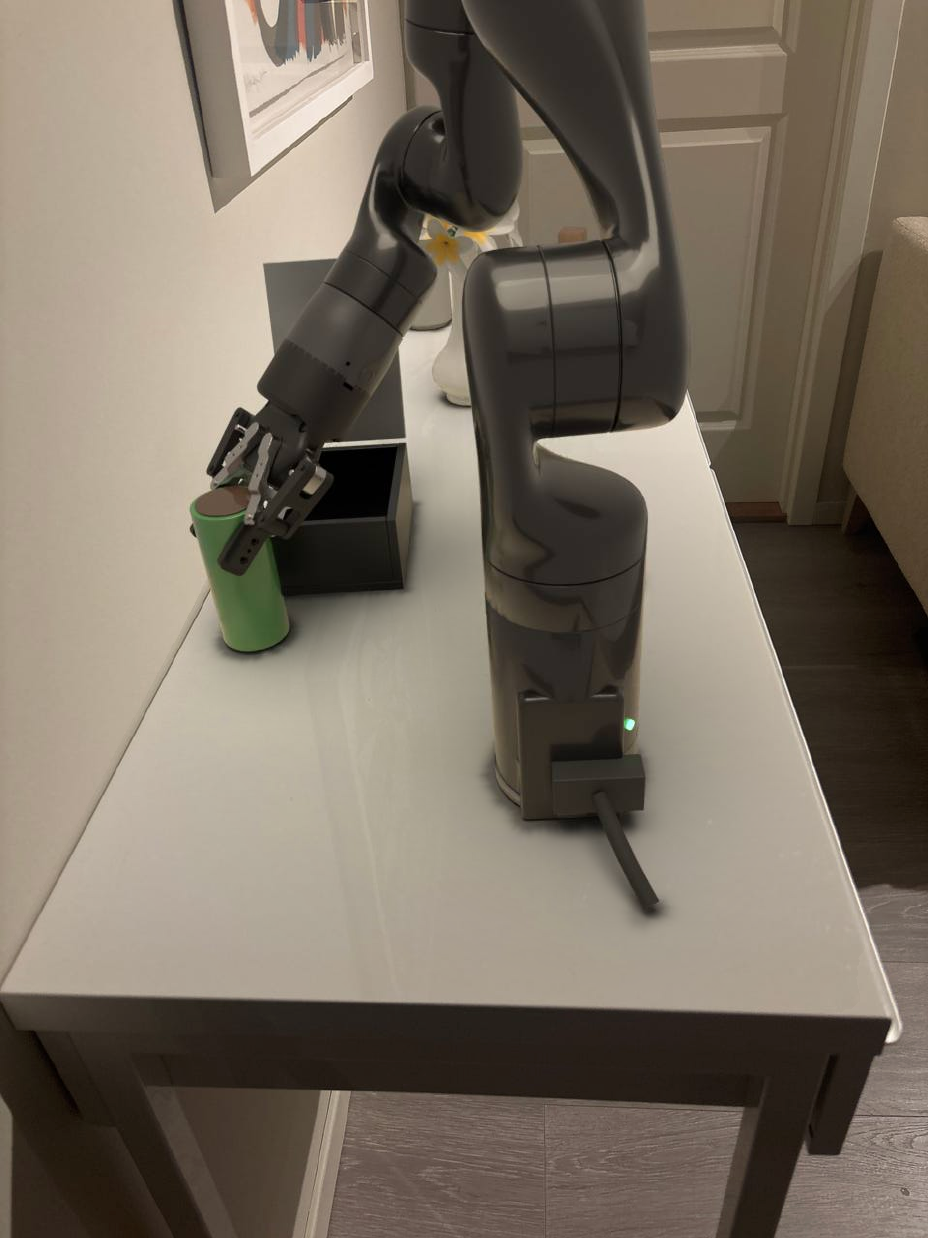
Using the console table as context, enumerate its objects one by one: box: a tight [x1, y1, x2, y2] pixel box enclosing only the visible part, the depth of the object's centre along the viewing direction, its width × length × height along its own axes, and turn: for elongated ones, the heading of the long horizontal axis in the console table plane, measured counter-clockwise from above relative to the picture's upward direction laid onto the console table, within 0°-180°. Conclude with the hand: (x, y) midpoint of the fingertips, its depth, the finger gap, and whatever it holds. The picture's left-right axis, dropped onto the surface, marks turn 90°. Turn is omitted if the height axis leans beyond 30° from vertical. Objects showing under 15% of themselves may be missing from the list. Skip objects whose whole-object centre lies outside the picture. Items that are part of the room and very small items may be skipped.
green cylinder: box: [189, 486, 291, 652], centre depth 75 cm, size 5×5×12 cm
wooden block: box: [557, 226, 588, 243], centre depth 155 cm, size 4×4×8 cm
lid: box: [262, 257, 407, 444], centre depth 90 cm, size 16×12×1 cm
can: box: [409, 254, 453, 331], centre depth 141 cm, size 8×8×12 cm
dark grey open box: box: [264, 441, 414, 596], centre depth 88 cm, size 16×12×7 cm
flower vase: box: [418, 200, 524, 407], centre depth 111 cm, size 13×18×25 cm
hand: (214, 553), depth 73 cm, fingers closed on green cylinder, 5 cm apart
